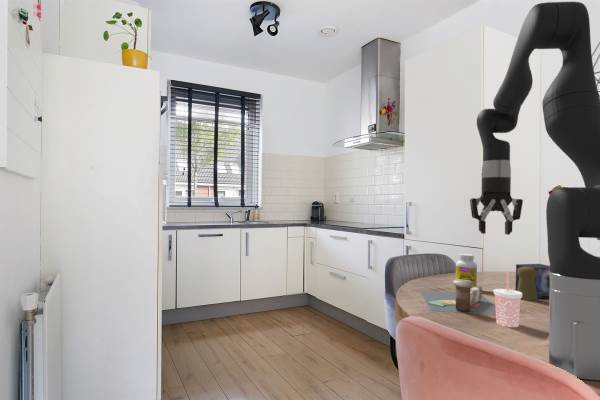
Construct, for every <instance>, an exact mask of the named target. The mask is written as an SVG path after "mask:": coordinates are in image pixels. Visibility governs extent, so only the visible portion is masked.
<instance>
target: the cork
mask: <svg viewBox="0 0 600 400" xmlns="http://www.w3.org/2000/svg"><path fill="white" fill-rule="evenodd" d="M517 274H518V276H519V282H518V288H517V291H519V292H521V293H522V297H521V301H526V302H538V300H539V299H538V298H537V291H536V284H535V278H536V276H537V271H536V270H535V269H534V268H531V267H520V268H518V270H517Z"/></svg>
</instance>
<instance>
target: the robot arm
mask: <svg viewBox="0 0 600 400" xmlns="http://www.w3.org/2000/svg"><path fill="white" fill-rule="evenodd" d="M589 14H590V13H589V11H588V9H587V7H586V5H585V4H584V3H583V2H580V1H553V2H552V1H551V2H550V1H549V2H540V3H537V4H535V5H533V6H532V7H531V9H530V10H529V11H528V13H527V14H526V17H525V18H524V21H523V23H522V25H521V28H520V31H519V33H518V37H517V40H516V41H515V42H516V43H515V46H514V49H513V52H512V55H511V59H510V62H509V64H508V68H507V71H506V73H505V76H504V78H503V81H502V83H501V85H500V86H499V88H498V90H497V92H496V94H495V96H494V98H493V102H492V103H493V104H492V105H493V108H484V109H482V110H481V111H479V113H478V115H477V117H476V127H477V131H478V133H479V138H480V141H481V144H482V145H481V146H482V167H481V174H480V175H481V194H480V196H479V198H477V197H476V198H474V197H473V198H470V199H469V204H470V211H471V217H472V219H475V220H478V231H479V232H480V234H482V235H485V234H486V227H487V225H486V224H487V223H486V218H487V216H488V215H489V214H490V212H501V214H502V215H503V218H504V219H505V221H504V234H505V235H509V236H510V235H511V233H513V222H514V221H518V220H520V219H521V217H522V216H521V214H522V208H523V202H524V199H522V198H513V197H512V195H511V190H512V189H511V186H512V185H511V184H512V183H511V180H512V176H511V175H512V170H511V169H512V168H511V144H510V142H509V141H506V140H503V139H499V138H496V136H495V135H494V134H507V133H510V132H512V131H513V130H515V129H516V127H517V125H518V121H519V114H520V110H521V107H522V105H523V104H524V102H525V100H526V99H527V97H528V95H529V94H530V92H531V90H532V88H533V74H532V69H531V66H530V62H529V61H530V56H531V55H532V53H533V52H534V50H560V52H561V54H562V66H561V68H560V70H559V72H558V73H557V75H556V76H555V78H554V79H553V80H552V82H551V83H550V85H549V87H548V88H547V90H546V92H545V94H544V95H543V99H542V103H541V104H542V113H543V121H544V126H545V131H546V133H547V134H548V137H549V138H550V140H552V142H553V143H554V144H555V145H556V146H557V147H558V148H559V149H560V150H561V151H562V152H563V153H564V154H565V155H566V156H567V158H569V159H570V160H571V161H572V162H573V163H574V165H575V166H576V167H577V169H578V171H579V173H580V175H581V177H582V180H583V183H584V186H582V187H581V186H580V187H579V186H578V187H576V186H575V187H574V186H573V187H571V186H569V187H568V186H567V187H565V186H563V187H557V188H555V189H553V190H552V192H550V194H549V196H548V199H547V200H546V201H547V202H546V212H545V213H546V214H545V215H546V218H545V219H546V231H547V233H546V234H547V256H548V260H549V261H548V263H549V266H550V295H549V300H548V301H549V307H548V308H549V310H548V312H549V314H548V317H549V320H548V322H549V323H548V326H549V327H548V345H549V346H548V347H549V348H548V364H549V365H550V364H552V365H554V366H556V367H559V368H561V369H563V370H566V371H567V372H569V373H571V374H573V375H575V376H577V377H578V378H577V379H579V378H580V380H581V379H582V380H591V381H600V257H599V256H596V255H593V254H591V253H589V252H587V251H586V250H585V249H584V248H582V246H581V244H580V243H581V242H580V238H582V239H583V238H585V239H586V238H588V239H591V238H592V239H593V238H594V239H600V94H599V90H598V87H597V82H596V75H595V69H594V65H593V64H594V63H593V55H592V45H591V44H592V43H591V42H592V41H591V26H590V25H591V23H590V16H589ZM480 203H481V204H482V205H483V208H482V209H481V210H480V211H481V212H480V214H479V210H478V206H479V205H480ZM511 203H512V206H513V211H512V213H511V211H510V208H509V205H510V204H511ZM552 365H551V366H552Z"/></svg>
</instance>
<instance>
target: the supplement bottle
mask: <svg viewBox="0 0 600 400" xmlns="http://www.w3.org/2000/svg"><path fill="white" fill-rule="evenodd" d="M458 256H459V257H458V258H459V260H458V261H456V263H455V279H463V280H470V281H472V282H473V287H475V286H478V285H477V283H478V282H477V281H478V280H477V279H478V277H477V275H478V265H477V263H476V262H475V261H474V259H475V255H474V254H470V253H459V254H458ZM473 287H470V289H471V288H473Z"/></svg>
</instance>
